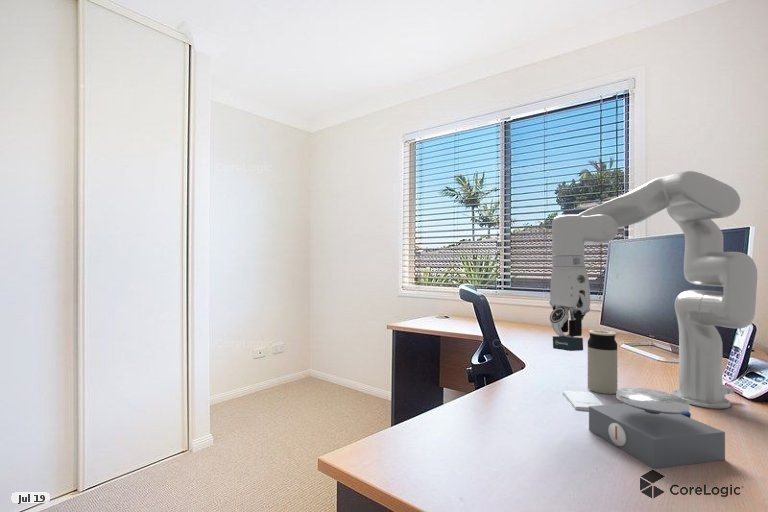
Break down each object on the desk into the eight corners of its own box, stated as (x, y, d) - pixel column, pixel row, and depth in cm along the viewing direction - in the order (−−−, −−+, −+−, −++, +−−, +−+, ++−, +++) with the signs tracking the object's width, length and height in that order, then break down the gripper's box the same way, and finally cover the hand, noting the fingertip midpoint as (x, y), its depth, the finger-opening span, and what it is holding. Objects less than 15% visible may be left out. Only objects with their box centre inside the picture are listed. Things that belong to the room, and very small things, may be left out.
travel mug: (589, 392, 115) (589, 332, 115) (586, 384, 122) (586, 328, 123) (619, 396, 112) (619, 335, 112) (614, 388, 119) (614, 330, 120)
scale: (649, 424, 93) (649, 401, 93) (725, 459, 76) (724, 432, 76) (586, 430, 89) (586, 406, 89) (651, 468, 72) (651, 439, 72)
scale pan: (649, 398, 90) (649, 386, 90) (706, 421, 78) (706, 406, 78) (602, 402, 88) (602, 389, 88) (653, 426, 75) (653, 411, 75)
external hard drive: (592, 398, 112) (608, 414, 100) (562, 395, 114) (575, 412, 101) (592, 392, 112) (608, 408, 100) (562, 390, 114) (575, 405, 101)
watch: (547, 348, 98) (545, 305, 100) (570, 347, 101) (568, 306, 103) (564, 351, 93) (562, 306, 95) (588, 350, 96) (586, 306, 97)
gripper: (605, 263, 91) (606, 340, 90) (560, 263, 107) (560, 327, 107) (577, 263, 89) (578, 341, 89) (535, 263, 106) (536, 328, 106)
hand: (568, 333), depth 98 cm, fingers closed on watch, 4 cm apart
